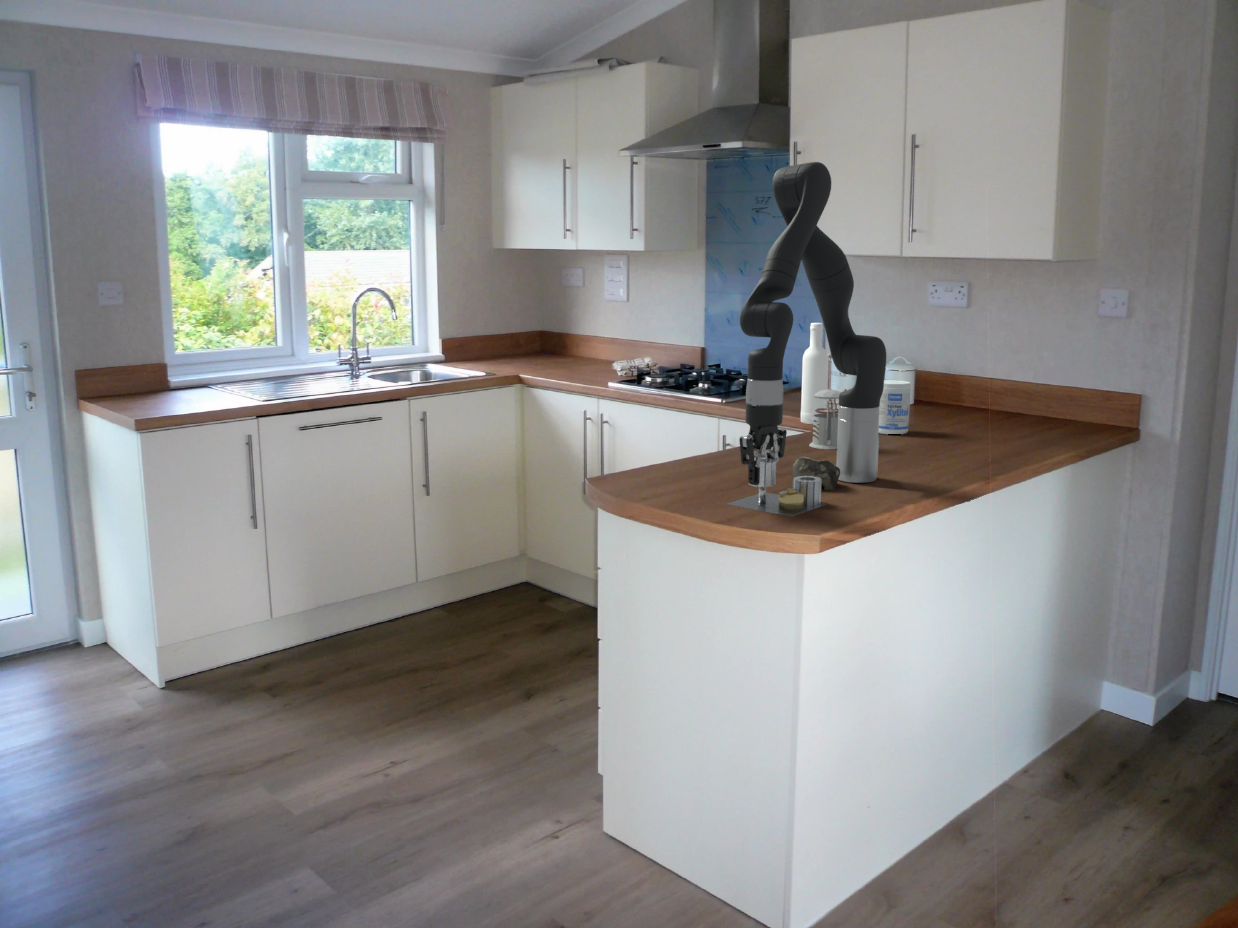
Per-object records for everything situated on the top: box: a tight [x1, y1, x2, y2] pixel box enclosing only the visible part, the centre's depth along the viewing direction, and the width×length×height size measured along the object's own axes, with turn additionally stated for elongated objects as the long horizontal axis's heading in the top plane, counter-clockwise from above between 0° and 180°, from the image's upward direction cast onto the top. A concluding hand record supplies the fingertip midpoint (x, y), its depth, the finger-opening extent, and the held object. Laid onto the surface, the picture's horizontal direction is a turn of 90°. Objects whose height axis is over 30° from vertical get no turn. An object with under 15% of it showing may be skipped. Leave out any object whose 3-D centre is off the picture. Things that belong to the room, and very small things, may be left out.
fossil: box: [791, 456, 840, 491], centre depth 238 cm, size 11×9×10 cm
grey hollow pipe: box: [792, 476, 822, 506], centre depth 223 cm, size 6×6×5 cm
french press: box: [808, 352, 842, 450], centre depth 287 cm, size 10×12×25 cm
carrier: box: [726, 487, 829, 518], centre depth 222 cm, size 14×16×5 cm
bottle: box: [800, 322, 830, 425], centre depth 324 cm, size 8×8×30 cm
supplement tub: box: [878, 379, 912, 435], centre depth 308 cm, size 10×10×15 cm
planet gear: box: [748, 457, 777, 488], centre depth 222 cm, size 6×6×5 cm
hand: (762, 481), depth 223 cm, fingers closed on planet gear, 5 cm apart
